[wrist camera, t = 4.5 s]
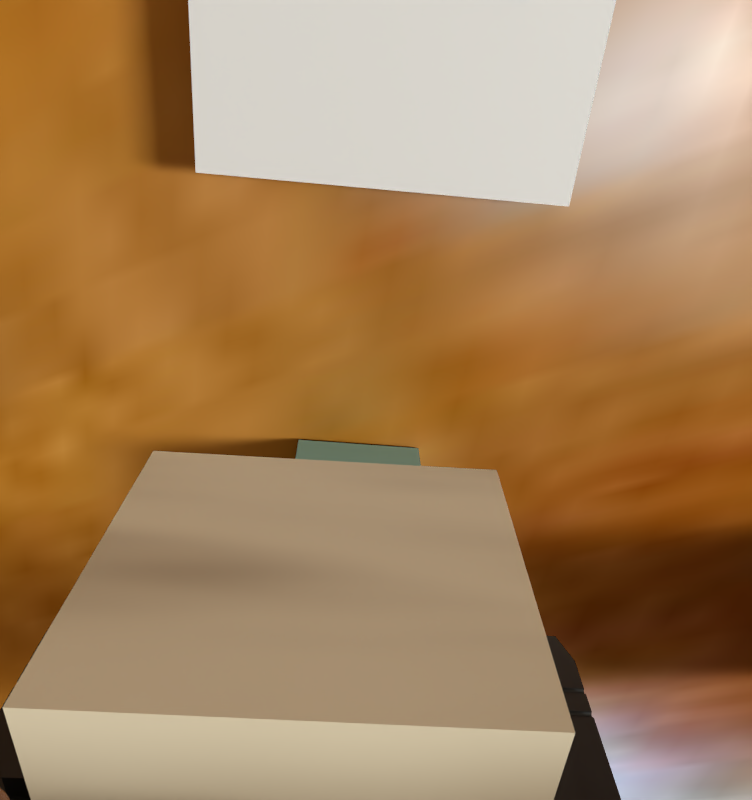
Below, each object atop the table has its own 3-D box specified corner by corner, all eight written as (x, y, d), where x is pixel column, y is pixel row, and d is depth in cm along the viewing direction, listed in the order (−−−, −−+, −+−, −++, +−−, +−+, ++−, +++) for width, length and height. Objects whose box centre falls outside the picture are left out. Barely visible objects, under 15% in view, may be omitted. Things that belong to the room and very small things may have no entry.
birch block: (454, 698, 14) (490, 991, 10) (179, 685, 14) (85, 978, 9) (496, 470, 11) (575, 733, 7) (153, 450, 11) (2, 708, 7)
